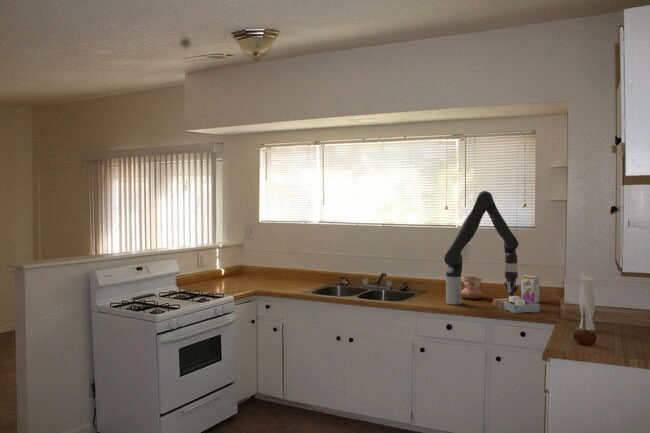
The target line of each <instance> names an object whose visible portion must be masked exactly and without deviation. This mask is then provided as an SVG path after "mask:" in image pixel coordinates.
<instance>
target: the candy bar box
mask: <svg viewBox="0 0 650 433" xmlns="http://www.w3.org/2000/svg"><path fill="white" fill-rule="evenodd" d="M520 297H521V299H522V300H525V301H531V302H534V303H537V304H540V277H539V276H536V275H535V276H534V275H529V274H524V275H523V274H522V275H520Z"/></svg>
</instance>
